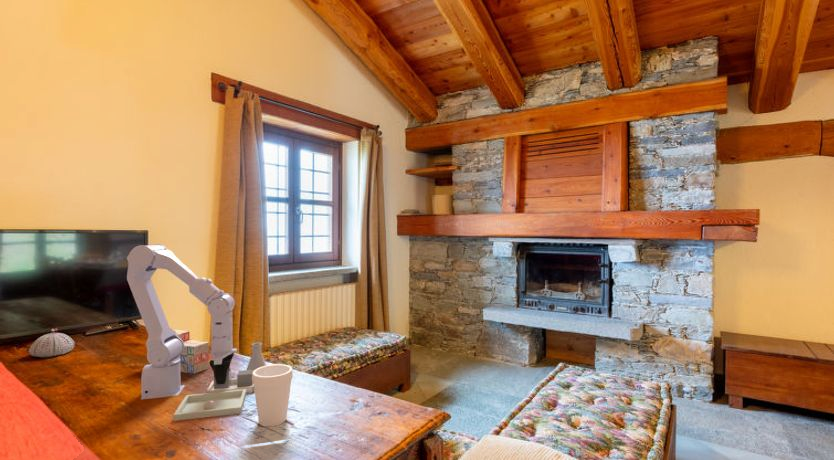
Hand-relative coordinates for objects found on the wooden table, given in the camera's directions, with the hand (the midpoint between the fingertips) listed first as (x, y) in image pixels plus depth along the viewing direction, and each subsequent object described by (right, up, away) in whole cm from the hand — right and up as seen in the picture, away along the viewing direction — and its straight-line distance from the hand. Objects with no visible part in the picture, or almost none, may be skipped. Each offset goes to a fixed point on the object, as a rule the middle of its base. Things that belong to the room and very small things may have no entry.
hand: (222, 381), depth 122 cm
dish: (+3, -3, +1) cm, 4 cm away
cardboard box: (-25, -3, +21) cm, 33 cm away
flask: (+4, -3, +15) cm, 16 cm away
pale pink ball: (+4, -3, -15) cm, 16 cm away
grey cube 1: (+6, -3, +2) cm, 7 cm away
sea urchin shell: (-83, -3, +37) cm, 91 cm away
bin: (+3, -3, -12) cm, 12 cm away
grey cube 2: (0, -1, 0) cm, 1 cm away
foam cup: (+22, -3, -20) cm, 30 cm away
